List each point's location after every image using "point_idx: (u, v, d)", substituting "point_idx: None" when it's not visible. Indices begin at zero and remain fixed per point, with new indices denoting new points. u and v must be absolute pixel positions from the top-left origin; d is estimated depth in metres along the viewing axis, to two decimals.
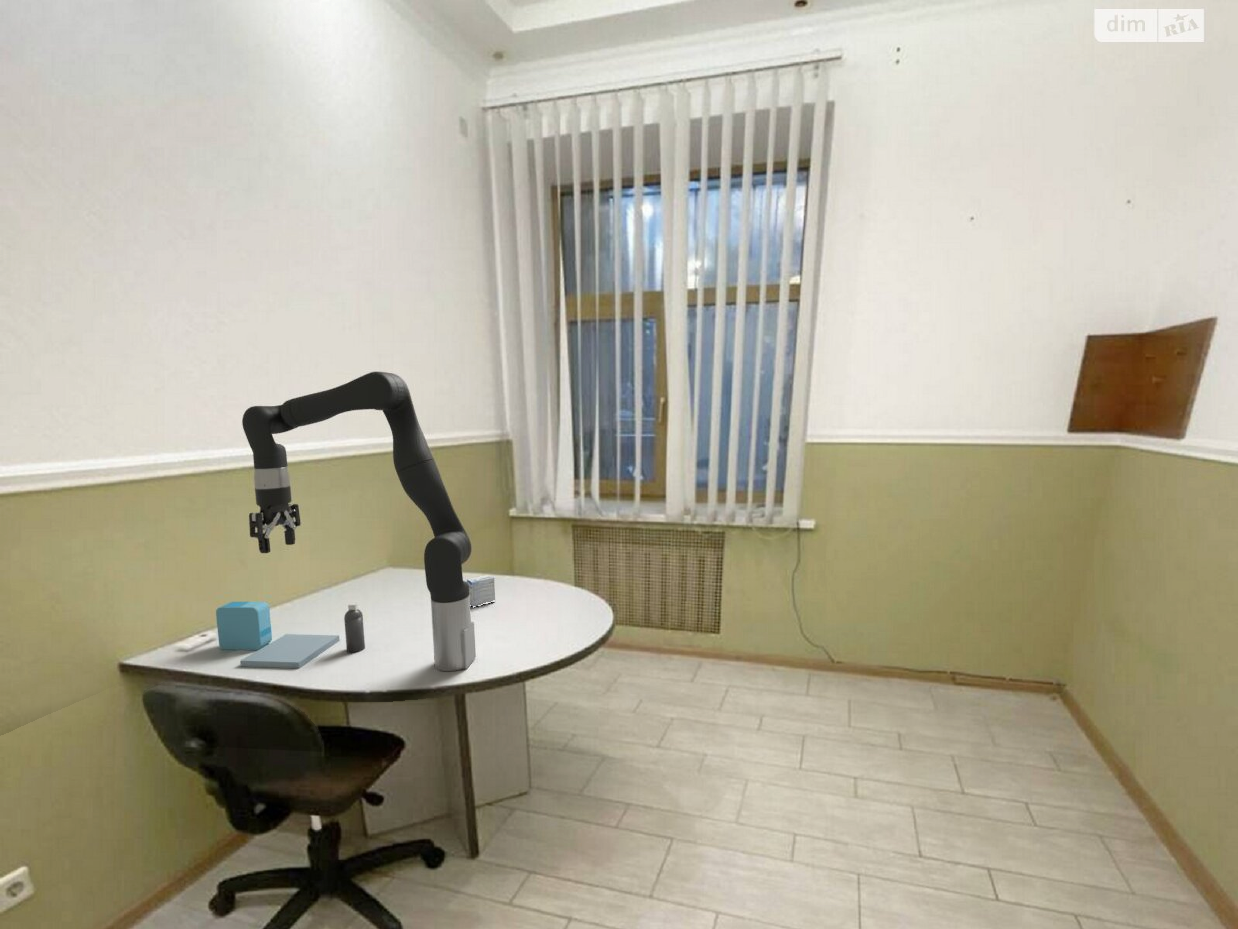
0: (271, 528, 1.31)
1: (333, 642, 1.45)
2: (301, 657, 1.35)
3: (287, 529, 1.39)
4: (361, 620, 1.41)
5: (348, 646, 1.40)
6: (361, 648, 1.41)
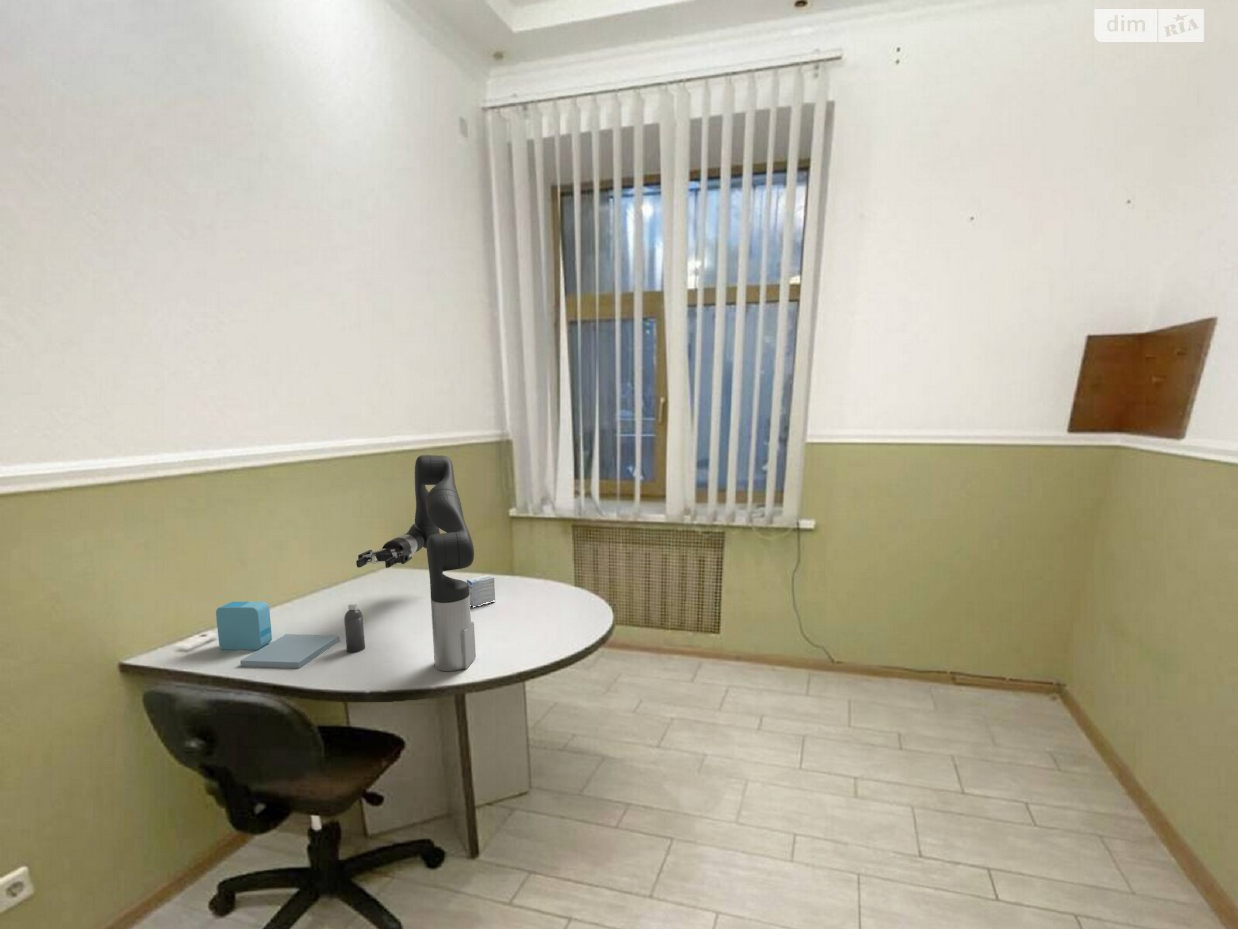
0: (371, 552, 1.57)
1: (333, 642, 1.45)
2: (301, 657, 1.35)
3: None
4: (361, 620, 1.41)
5: (348, 646, 1.40)
6: (361, 648, 1.41)
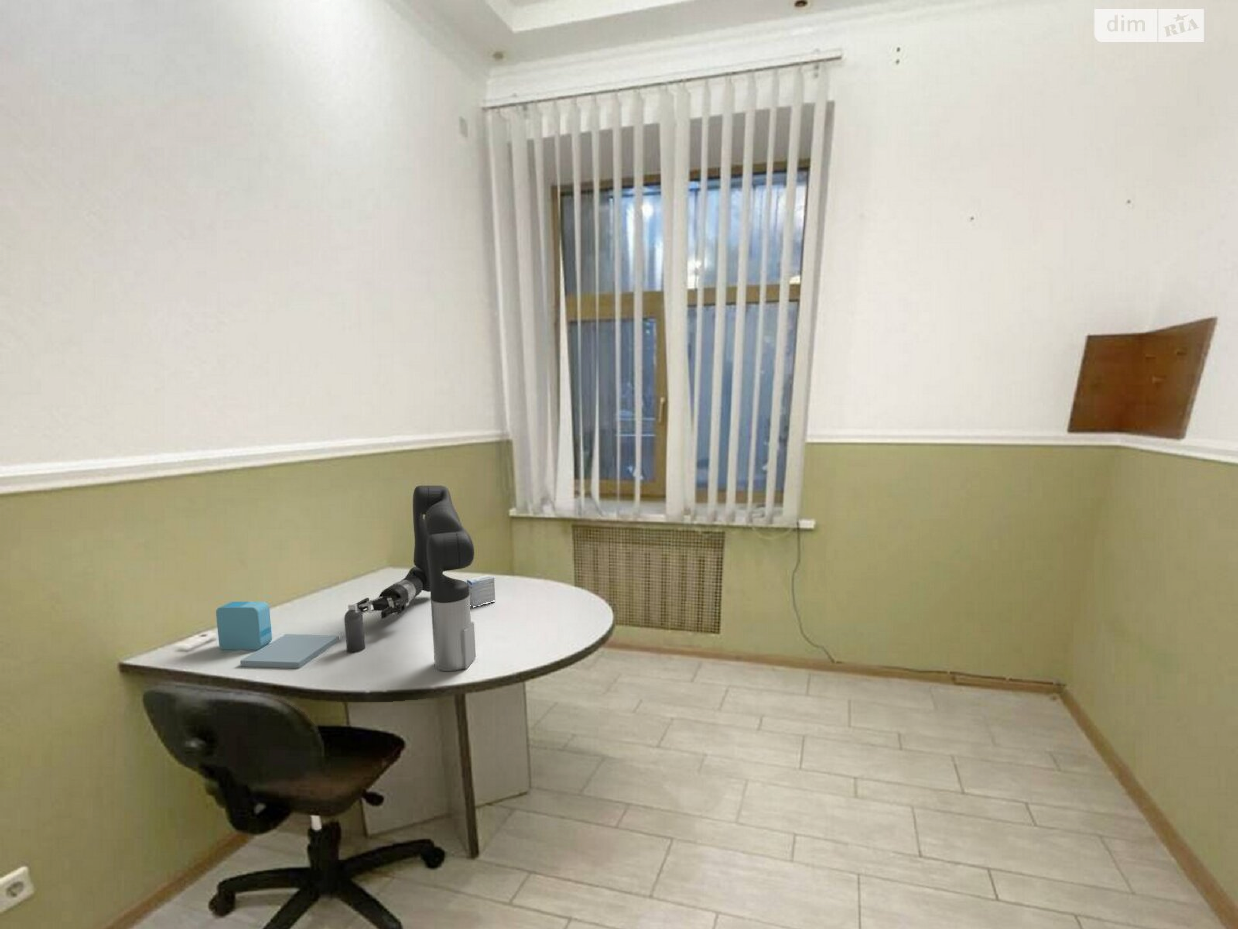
0: (367, 601, 1.54)
1: (333, 642, 1.45)
2: (301, 657, 1.35)
3: None
4: (361, 620, 1.41)
5: (348, 646, 1.40)
6: (361, 648, 1.41)
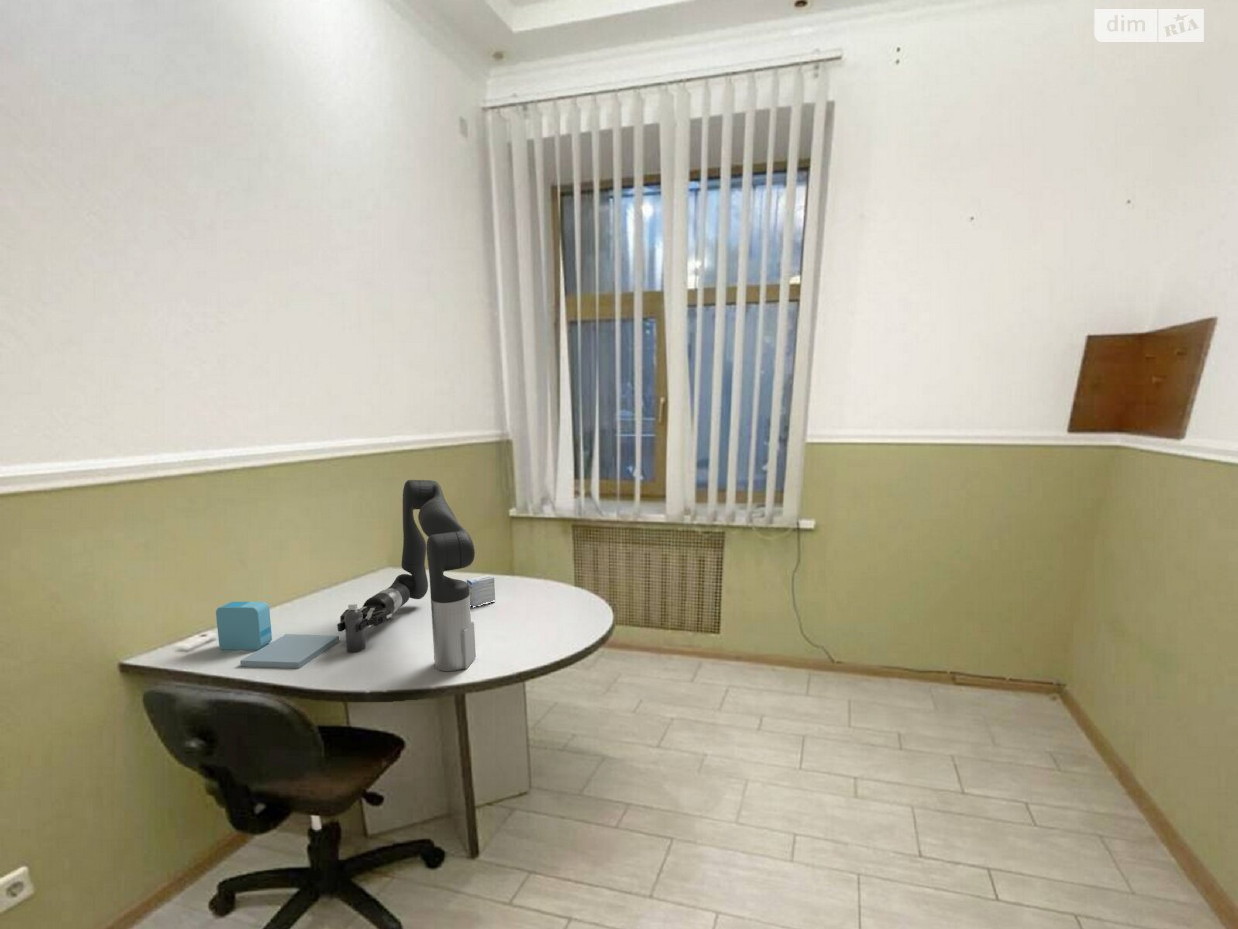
0: None
1: (333, 642, 1.45)
2: (301, 657, 1.35)
3: None
4: None
5: (348, 646, 1.40)
6: (361, 648, 1.41)
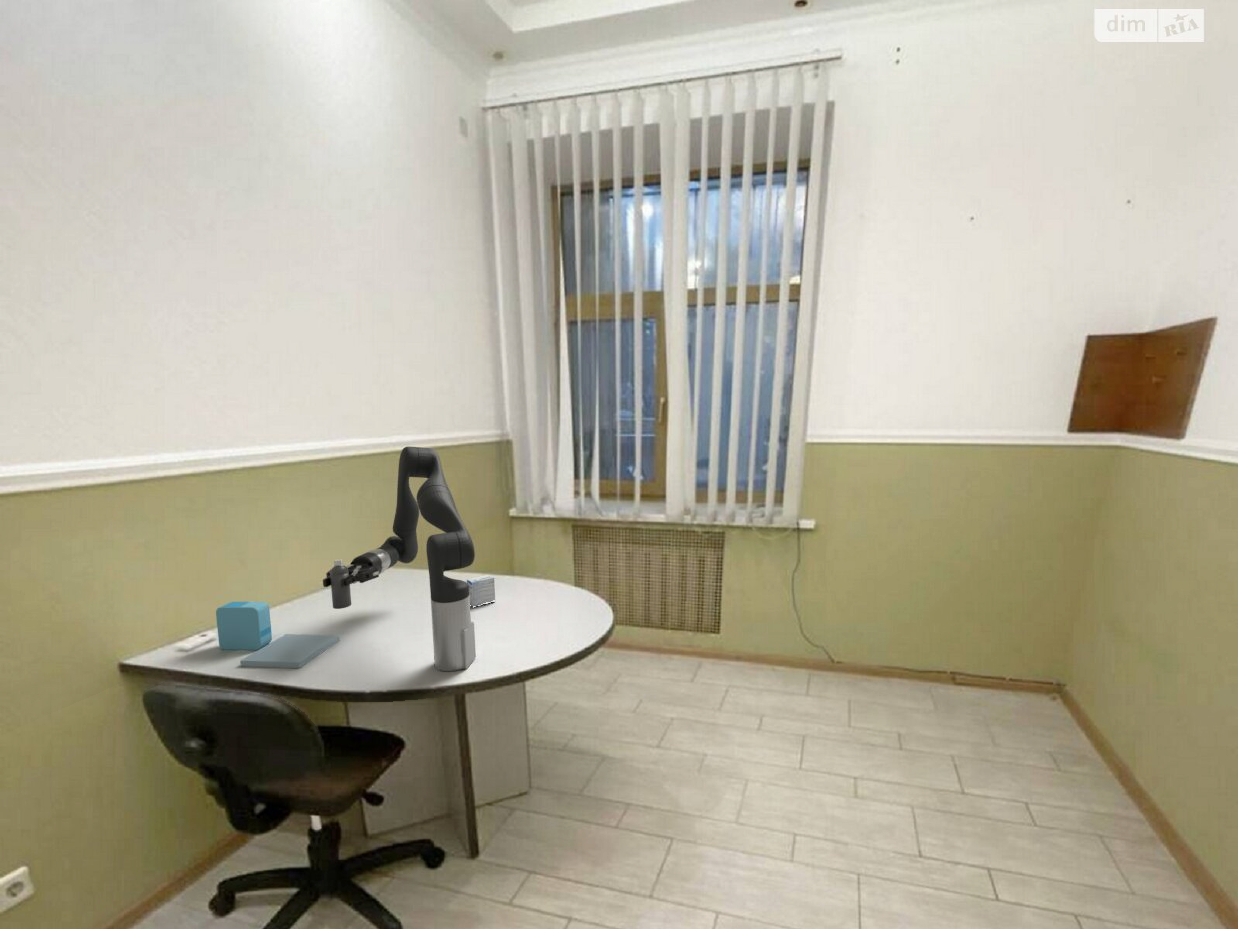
0: None
1: (333, 642, 1.45)
2: (301, 657, 1.35)
3: None
4: None
5: (334, 602, 1.39)
6: (347, 604, 1.40)
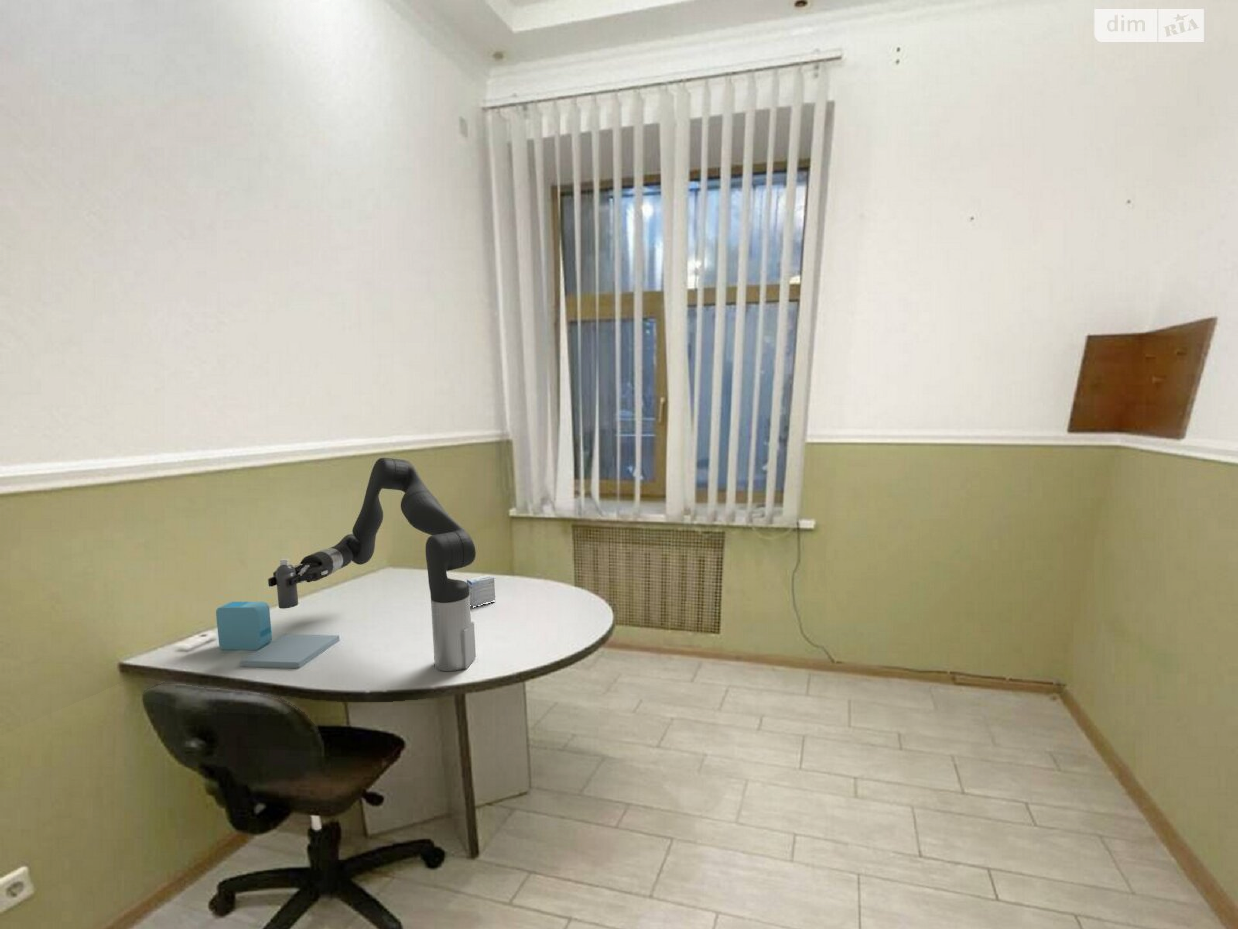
0: None
1: (333, 642, 1.45)
2: (301, 657, 1.35)
3: None
4: (293, 575, 1.39)
5: (279, 601, 1.38)
6: (293, 604, 1.39)
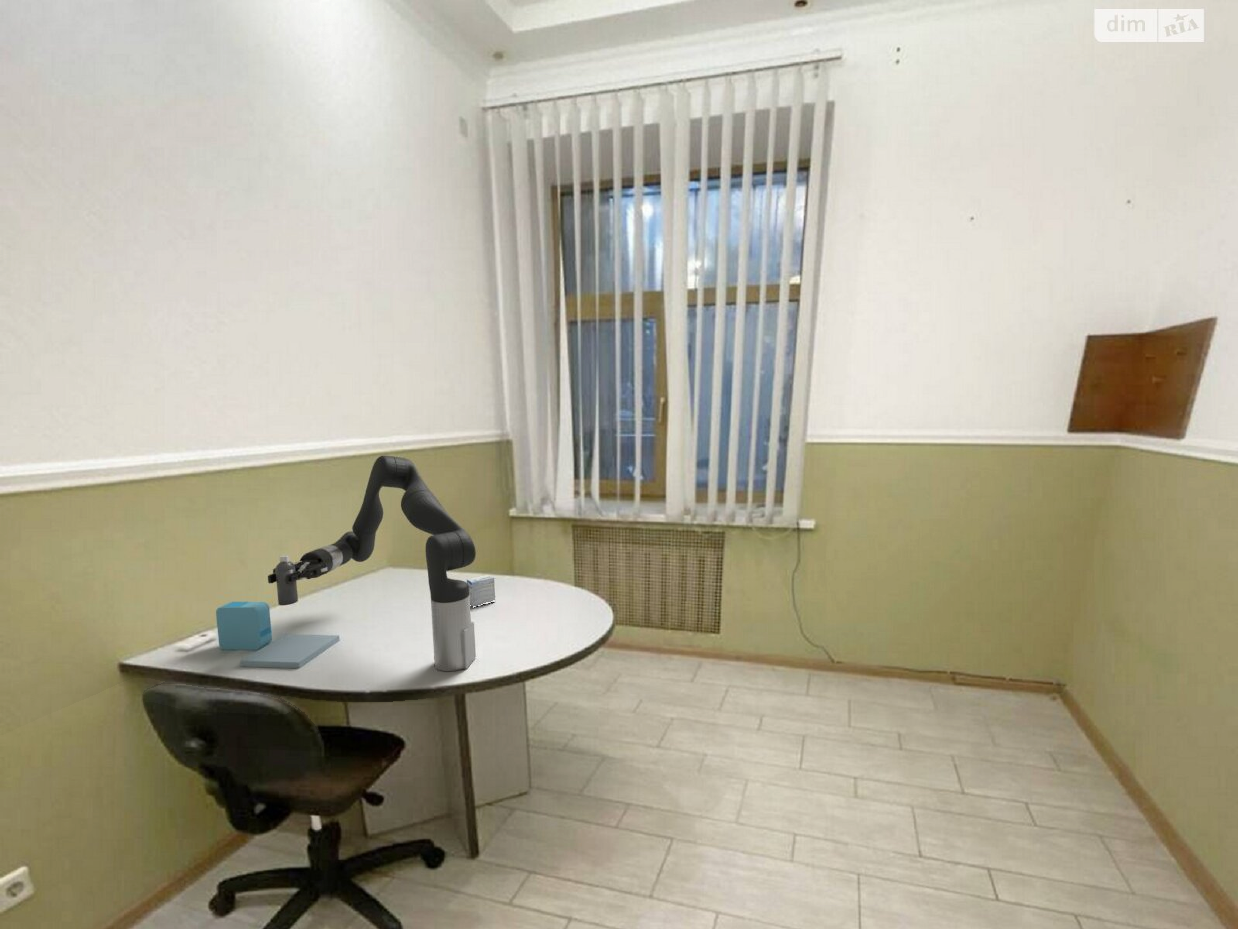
0: None
1: (333, 642, 1.45)
2: (301, 657, 1.35)
3: None
4: None
5: (279, 598, 1.37)
6: (293, 601, 1.39)
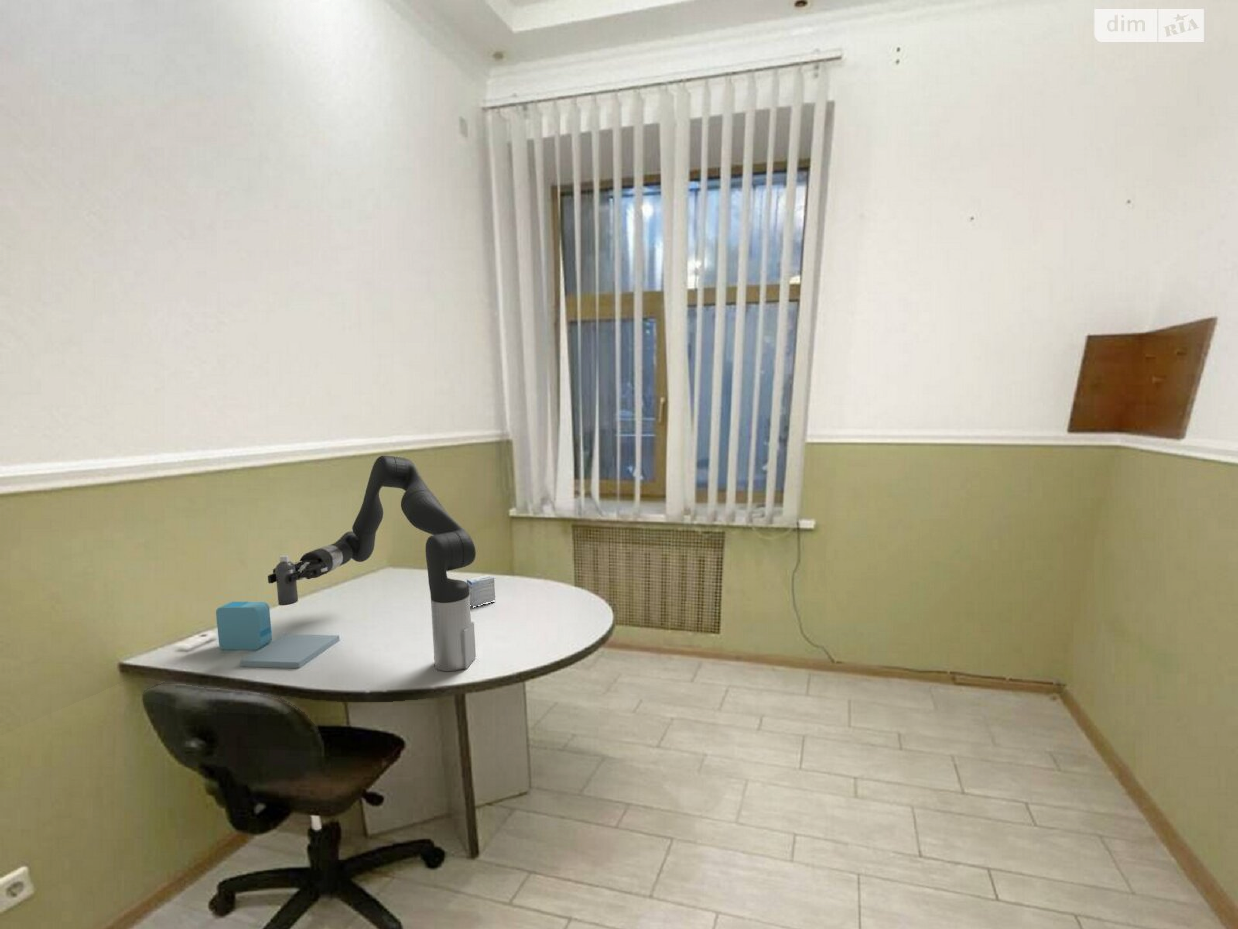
0: None
1: (333, 642, 1.45)
2: (301, 657, 1.35)
3: None
4: None
5: (279, 598, 1.37)
6: (293, 601, 1.39)
